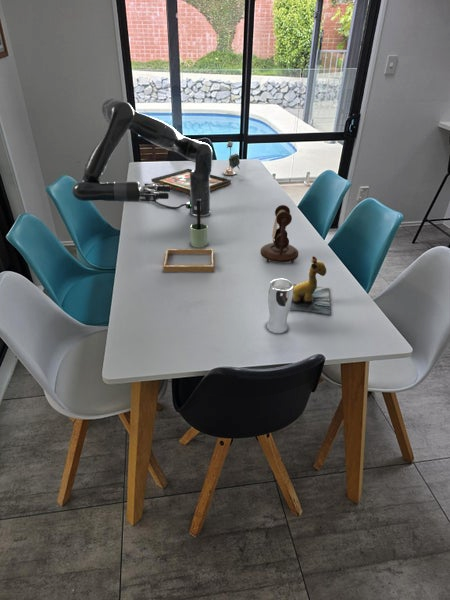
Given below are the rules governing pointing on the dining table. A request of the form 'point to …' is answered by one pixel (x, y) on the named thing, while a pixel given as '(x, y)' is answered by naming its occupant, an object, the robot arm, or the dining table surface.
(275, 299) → the beer glass
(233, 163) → the plant with pod
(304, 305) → the stuffed giraffe
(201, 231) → the pen cup
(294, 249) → the scroll
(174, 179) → the religious icon
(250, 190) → the dining table surface
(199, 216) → the black rectangular stick
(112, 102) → the robot arm
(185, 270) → the oak tray
